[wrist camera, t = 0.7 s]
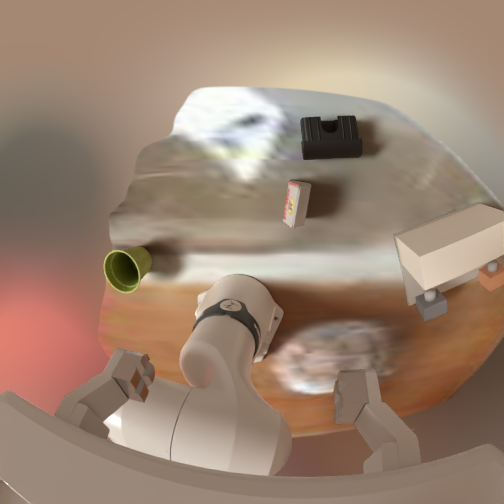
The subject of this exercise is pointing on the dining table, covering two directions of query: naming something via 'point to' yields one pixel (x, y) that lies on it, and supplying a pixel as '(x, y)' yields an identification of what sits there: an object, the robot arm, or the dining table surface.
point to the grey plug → (431, 304)
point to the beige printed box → (296, 203)
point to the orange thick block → (491, 275)
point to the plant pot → (127, 268)
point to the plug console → (449, 249)
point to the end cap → (330, 138)
